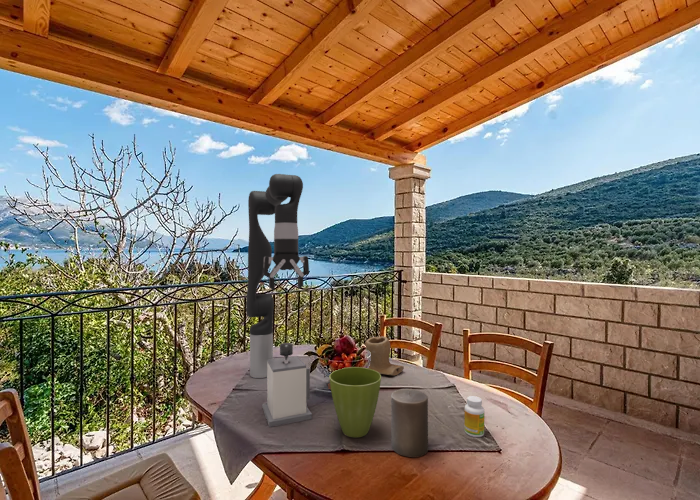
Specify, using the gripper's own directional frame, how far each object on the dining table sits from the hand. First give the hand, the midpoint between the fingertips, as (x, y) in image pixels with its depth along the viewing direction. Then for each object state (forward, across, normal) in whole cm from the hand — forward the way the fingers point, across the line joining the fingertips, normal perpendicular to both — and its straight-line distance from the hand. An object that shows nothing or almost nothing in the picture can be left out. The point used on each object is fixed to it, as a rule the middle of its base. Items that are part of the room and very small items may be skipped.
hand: (286, 289), depth 112 cm
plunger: (+36, 0, 0) cm, 36 cm away
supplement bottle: (+40, -47, +32) cm, 69 cm away
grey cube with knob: (+40, 0, 0) cm, 40 cm away
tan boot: (+40, -45, -20) cm, 63 cm away
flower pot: (+40, -16, +18) cm, 46 cm away
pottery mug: (+40, -23, -15) cm, 49 cm away
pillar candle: (+40, -26, +31) cm, 57 cm away
